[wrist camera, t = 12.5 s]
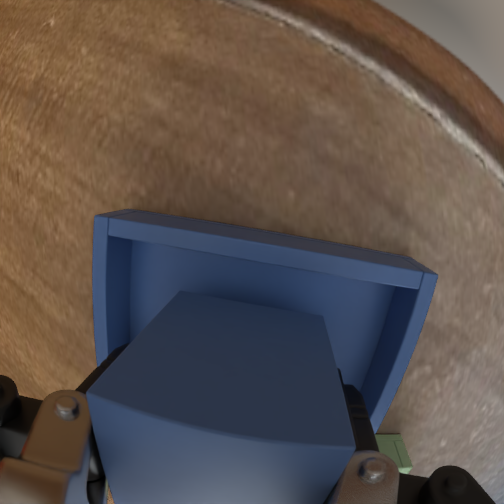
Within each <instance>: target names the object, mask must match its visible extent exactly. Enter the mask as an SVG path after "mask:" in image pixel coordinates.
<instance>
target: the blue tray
mask: <svg viewBox="0 0 504 504" xmlns="http://www.w3.org/2000/svg"><path fill="white" fill-rule="evenodd" d="M437 279H438V274H436V273H435V272H433V271H432V270H430V269H429V268H427V267H425V266H424V265H422V264H421V263H419V262H417V261H416V260H414V259H413V258H411V257H408V256H402V255H397V254H392V253H387V252H382V251H377V250H372V249H366V248H361V247H356V246H350V245H345V244H340V243H334V242H329V241H323V240H318V239H312V238H306V237H301V236H295V235H290V234H284V233H278V232H272V231H266V230H261V229H255V228H249V227H243V226H237V225H231V224H225V223H218V222H212V221H206V220H200V219H193V218H187V217H181V216H174V215H168V214H161V213H154V212H148V211H141V210H134V209H124V210H119V211H114V212H109V213H104V214H99V215H95V217H94V232H93V265H92V286H93V319H94V336H95V349H96V360H97V367H98V366H100V364H101V363H102V362H103V361H104V360H105V359H107V356H108V355H109V354H110V353H111V352H112V351H113V350H114V349H115V348H118V347H120V346H122V345H124V344H127V343H131V342H132V341H133V340H134V339H135V338H136V337H137V335H138V334H139V333H140V332H141V331H142V330H143V329H144V328H145V327H146V326H147V325H148V324H149V323H150V321H151V320H152V319H153V318H154V317H155V316H156V315H157V314H158V313H159V312H160V311H161V310H162V309H163V308H164V307H165V306H166V304H167V303H168V302H169V301H170V300H171V299H172V298H173V297H174V296H175V295H176V294H177V293H178V292H179V291H186V292H191V293H196V294H201V295H206V296H211V297H216V298H222V299H227V300H232V301H238V302H243V303H249V304H254V305H260V306H266V307H272V308H278V309H284V310H290V311H296V312H302V313H309V314H315V315H322V316H323V318H324V321H325V325H326V328H327V332H328V336H329V339H330V343H331V347H332V350H333V354H334V358H335V362H336V366H337V368H339V369H340V371H341V375H342V379H343V383H344V384H348V385H353V386H354V387H355V388H356V389H357V390H358V391H359V392H360V393H361V394H362V396H363V399H364V402H365V405H366V409H367V411H368V415H369V418H370V421H371V424H372V428H373V431H374V434H376V432H377V430H378V428H379V427H380V425H381V423H382V421H383V419H384V417H385V415H386V413H387V411H388V409H389V407H390V405H391V402H392V400H393V398H394V396H395V394H396V392H397V389H398V387H399V385H400V383H401V380H402V378H403V376H404V373H405V371H406V369H407V366H408V364H409V361H410V359H411V356H412V354H413V351H414V349H415V346H416V343H417V341H418V338H419V335H420V332H421V330H422V327H423V324H424V321H425V318H426V315H427V312H428V309H429V306H430V302H431V299H432V296H433V293H434V289H435V286H436V282H437Z"/></svg>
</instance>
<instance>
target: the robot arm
mask: <svg viewBox="0 0 504 504" xmlns="http://www.w3.org/2000/svg"><path fill="white" fill-rule="evenodd" d="M129 344H130V343H127V344H124V345H122V346H120V347H118V348H115V349H114V350H113V351H112V352H111V353H110V354H109V355H108V356H107V359H105V360H104V361H103V362H102V363H101V364H100V366H98V367H97V368H96V369H95V370H94V371H93V372H92V373H91V374H90V375H89V376H88V377H87V378H86V379H85V380H84V381H83V383H82V384H81V385H80V386H79V387H78V388H77V389H76V390H59V391H56V392H53V393H51V394H49V395H48V396H47V397H46V398H45V399H44V400H38V399H33V398H29V397H24V396H20V395H19V393H18V390H17V387H16V384H15V383H14V381H13V380H12V379H10V378H9V377H7V376H4V375H0V504H107V500H108V489H109V485H108V482H107V479H106V476H105V472H104V469H103V466H102V462H101V458H100V455H99V451H98V447H97V443H96V439H95V435H94V431H93V427H92V422H91V417H90V413H89V408H88V402H87V397H86V392H87V390H88V389H89V388H90V387H91V386H92V385H93V384H94V382H95V381H96V380H97V379H98V378H99V377H100V376H101V375H102V374H103V372H104V371H105V370H106V369H107V368H108V367H109V366H110V365H111V364H112V363H113V362H114V360H115V359H116V358H117V357H118V356H119V355H120V354H121V353H122V352H123V351H124V350H125V348H126V347H127V346H128V345H129ZM337 370H338V373H339V377H340V381H341V385H342V389H343V393H344V397H345V402H346V406H347V410H348V414H349V418H350V423H351V427H352V431H353V436H354V440H355V445H356V449H355V451H354V453H353V455H352V457H351V458H350V460H349V462H348V464H347V466H346V467H345V469H344V471H343V472H342V474H341V476H340V478H339V479H338V481H337V482H336V484H335V486H334V487H333V489H332V491H331V492H330V494H329V495H328V497H327V498H326V500H325V501H324V503H323V504H496V503H495V502H494V501H493V500H492V499H491V498H490V496H489V495H488V494H487V493H486V492H485V491H484V489H483V488H482V487H481V486H480V485H479V484H478V482H477V481H476V480H475V479H474V478H473V477H472V476H471V475H470V474H469V473H468V472H467V471H466V470H464V469H462V468H460V467H457V466H442V467H440V468H438V469H436V470H435V471H434V472H433V473H432V475H431V476H430V477H429V478H426V477H420V476H414V475H409V474H404V473H401V472H399V469H398V467H397V465H396V463H395V462H394V461H393V460H392V459H391V458H390V457H388V456H387V455H385V454H383V453H380V451H379V448H378V444H377V441H376V438H375V434H374V431H373V428H372V424H371V421H370V418H369V415H368V411H367V409H366V405H365V402H364V399H363V396H362V394H361V393H360V392H359V391H358V390H357V389H356V388H355V387H354V386H353V385H348V384H344V383H343V379H342V375H341V371H340V369H339V368H337Z"/></svg>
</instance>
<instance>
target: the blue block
mask: <svg viewBox="0 0 504 504" xmlns="http://www.w3.org/2000/svg"><path fill="white" fill-rule="evenodd" d="M86 397H87V402H88V408H89V413H90V417H91V422H92V427H93V431H94V435H95V439H96V443H97V447H98V451H99V455H100V458H101V462H102V466H103V469H104V472H105V476H106V479H107V482H108V485H109V488H110V491H111V494H112V497H113V500H114V503H115V504H323V503H324V501H325V500H326V498H327V497H328V495H329V494H330V492H331V491H332V489H333V487H334V486H335V484H336V482H337V481H338V479H339V478H340V476H341V474H342V472H343V471H344V469H345V467H346V466H347V464H348V462H349V460H350V458H351V457H352V455H353V453H354V451H355V449H356V445H355V440H354V436H353V431H352V427H351V423H350V418H349V414H348V410H347V406H346V402H345V397H344V393H343V389H342V385H341V381H340V377H339V373H338V370H337V366H336V362H335V358H334V354H333V350H332V347H331V343H330V339H329V336H328V332H327V328H326V325H325V321H324V318H323V316H322V315H315V314H309V313H302V312H296V311H290V310H284V309H278V308H272V307H266V306H260V305H254V304H249V303H243V302H238V301H232V300H227V299H222V298H216V297H211V296H206V295H201V294H196V293H191V292H186V291H179V292H178V293H177V294H176V295H175V296H174V297H173V298H172V299H171V300H170V301H169V302H168V303H167V304H166V306H165V307H164V308H163V309H162V310H161V311H160V312H159V313H158V314H157V315H156V316H155V317H154V318H153V319H152V320H151V321H150V323H149V324H148V325H147V326H146V327H145V328H144V329H143V330H142V331H141V332H140V333H139V334H138V335H137V337H136V338H135V339H134V340H133V341H132V342H131V343H130V344H129V345H128V346H127V347H126V348H125V350H124V351H123V352H122V353H121V354H120V355H119V356H118V357H117V358H116V359H115V360H114V362H113V363H112V364H111V365H110V366H109V367H108V368H107V369H106V370H105V371H104V372H103V374H102V375H101V376H100V377H99V378H98V379H97V380H96V381H95V382H94V384H93V385H92V386H91V387H90V388H89V389H88V390H87V392H86Z"/></svg>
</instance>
